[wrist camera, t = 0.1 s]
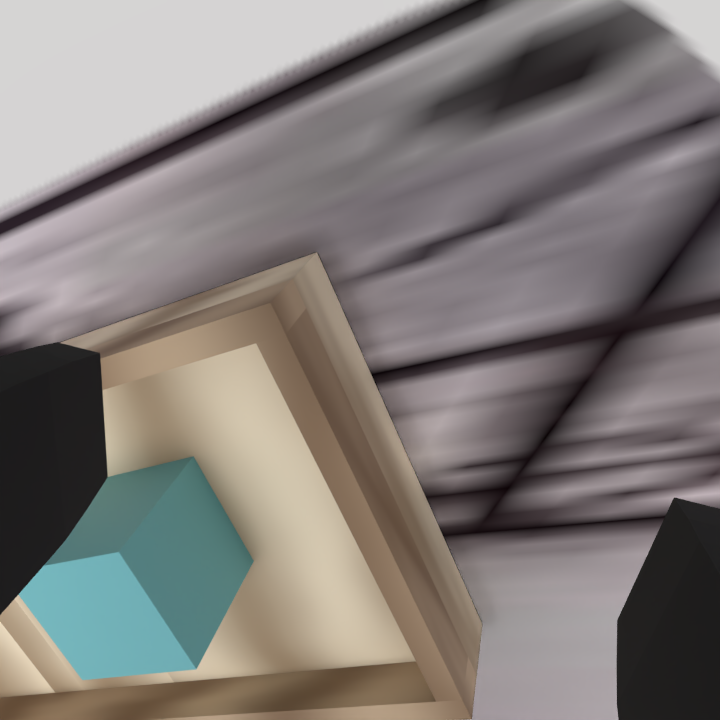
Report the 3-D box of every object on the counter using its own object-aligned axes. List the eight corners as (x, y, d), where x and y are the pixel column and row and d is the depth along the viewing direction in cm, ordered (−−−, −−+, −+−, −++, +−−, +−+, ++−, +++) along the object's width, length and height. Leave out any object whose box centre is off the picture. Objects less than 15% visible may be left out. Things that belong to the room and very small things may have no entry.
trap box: (316, 252, 18) (271, 303, 15) (482, 624, 23) (471, 719, 20) (-203, 434, 27) (-297, 489, 24) (-8, 675, 32) (-66, 746, 29)
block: (193, 456, 20) (118, 552, 17) (253, 561, 21) (196, 669, 18) (90, 481, 21) (2, 573, 18) (153, 577, 23) (82, 680, 19)
